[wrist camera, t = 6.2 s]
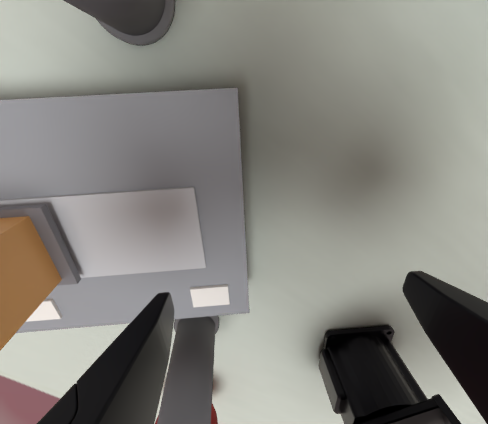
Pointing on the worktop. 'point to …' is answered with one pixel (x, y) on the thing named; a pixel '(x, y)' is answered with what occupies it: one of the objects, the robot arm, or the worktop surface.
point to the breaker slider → (29, 264)
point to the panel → (133, 200)
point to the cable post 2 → (190, 373)
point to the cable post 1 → (131, 18)
